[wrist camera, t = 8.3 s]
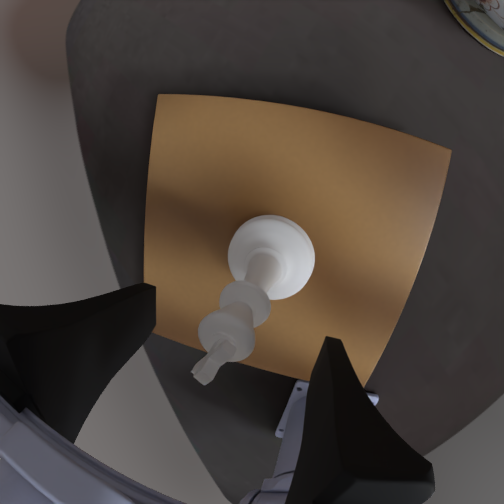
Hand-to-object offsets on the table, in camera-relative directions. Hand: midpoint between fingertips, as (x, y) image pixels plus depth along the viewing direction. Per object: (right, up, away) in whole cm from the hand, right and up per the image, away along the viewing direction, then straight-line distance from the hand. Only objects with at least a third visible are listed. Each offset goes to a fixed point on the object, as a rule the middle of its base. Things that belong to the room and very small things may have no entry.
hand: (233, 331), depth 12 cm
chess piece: (+2, +3, +6) cm, 7 cm away
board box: (+3, +4, +9) cm, 10 cm away
